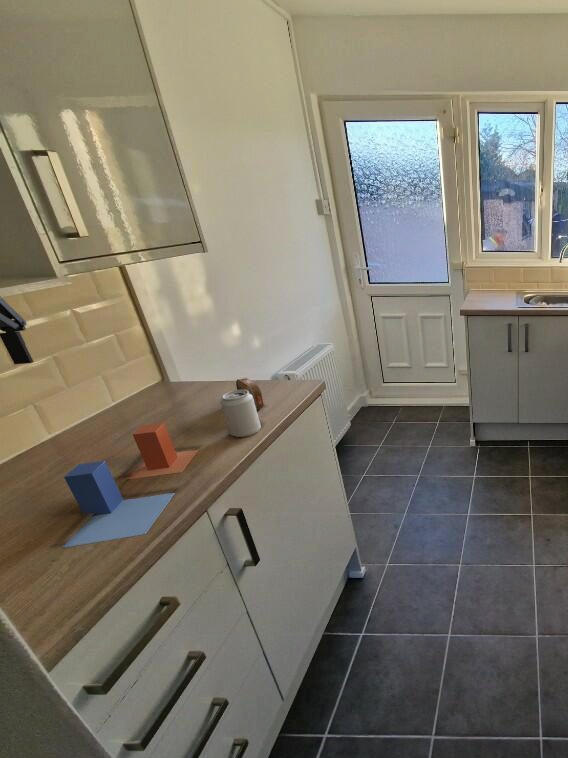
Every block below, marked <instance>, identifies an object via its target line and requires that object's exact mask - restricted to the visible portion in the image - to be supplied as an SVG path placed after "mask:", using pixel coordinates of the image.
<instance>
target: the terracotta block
mask: <svg viewBox="0 0 568 758" xmlns="http://www.w3.org/2000/svg"><path fill="white" fill-rule="evenodd" d="M132 437H133V439H134V441H135V444H136V446H137V449H138V451H139V454H140V456H141V458H142V460H143V461H144V463H145V465H146V467H147V470H155V469H162V468H169V467H170V466H171V465H172V464H173V463H174V461H175V460H176V459H177V458H178V457H177V454H176V453H177V452H176V449H175V446H174V444H173V442H172V439H171V436H170V434H169V431H168V428H167V425H166V423H165V422H159V423H151V424H142V425H141V426H140V427H139V428H138V429H136V430H135V431H134V432H133V433H132Z"/></svg>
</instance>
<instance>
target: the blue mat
mask: <svg viewBox="0 0 568 758" xmlns="http://www.w3.org/2000/svg"><path fill="white" fill-rule="evenodd" d="M175 494H176V492H171V493H163V494H157V495H150V496H143V497H137V498H130V499H123V501H122V502H121V503H120V504H119V505H118V506H117V507H116V508H115V510H114V511H113V512H112V513H109V514H103V515H96V516H92V515H91V516H90V517H89V518H88V519H87V520H86V521H85V523H84V524H82V526H81V527H80V528H79V529H78V530H77V531H76V532H75V533H74V534H73V535H72V537H71V538H69V540H68V541H67V542H66V543H65V544H64V545H63V546H62V547H61V549H66V548H71V547H78V546H84V545H89V544H95V543H101V542H108V541H114V540H119V539H126V538H127V539H128V538H131V537H133V538H134V537H139V536H144V535H146V534H147V533H148V531H149V530H150V529H151V527H152V526H153V525H154V523H155V522H156V520H157V519H158V518H159V516H160V514H162V512H163V511H164V509H166V506H167V505H169V502H170V501H171V500H172V499H173V497H174V496H175Z"/></svg>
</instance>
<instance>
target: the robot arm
mask: <svg viewBox="0 0 568 758" xmlns="http://www.w3.org/2000/svg"><path fill="white" fill-rule="evenodd" d="M26 325H27V321H26V320H25V319H24V318H23V317H22V316H21V315H20V314H19V313H18V312H17V311H16V310H15V309H14V308H13V307H12V306H11V305H10V304H9V303H8V301H6V300H5V299H4V298H3V297H2V296H1V295H0V331H1V332H0V339H1V341H2V343H3V346H4V347H5V349H6V351H7V353H8V354H9V357H10V358H11V361H12V362H13V364H14V365H24V364H33V363H34V359H33V357H32V355H31V354H30V352H29V349H28V347H27V346H26V345H27V344H26V341H25V340H24V338H23V335H22V334H21V332H22V331H23V332H24V331H26V329H27V328H26Z"/></svg>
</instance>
